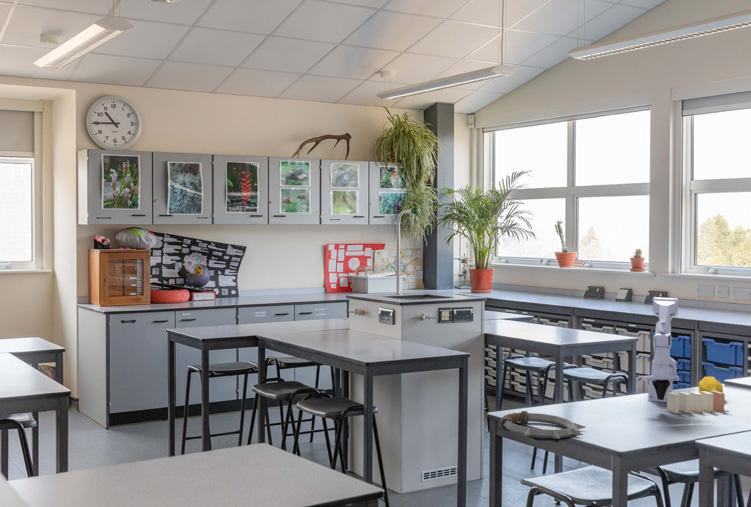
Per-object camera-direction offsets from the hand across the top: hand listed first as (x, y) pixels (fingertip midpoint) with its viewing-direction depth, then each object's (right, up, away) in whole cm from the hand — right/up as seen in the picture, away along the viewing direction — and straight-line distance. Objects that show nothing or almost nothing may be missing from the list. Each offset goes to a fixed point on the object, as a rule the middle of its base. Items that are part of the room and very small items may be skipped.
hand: (660, 399), depth 325 cm
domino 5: (+25, -5, +6) cm, 26 cm away
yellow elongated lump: (+32, -6, +32) cm, 46 cm away
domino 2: (+10, -5, +3) cm, 12 cm away
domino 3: (+15, -5, +4) cm, 16 cm away
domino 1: (+5, -5, +1) cm, 7 cm away
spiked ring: (-52, -6, -34) cm, 63 cm away
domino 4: (+20, -5, +5) cm, 21 cm away
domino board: (+15, -6, +4) cm, 17 cm away
